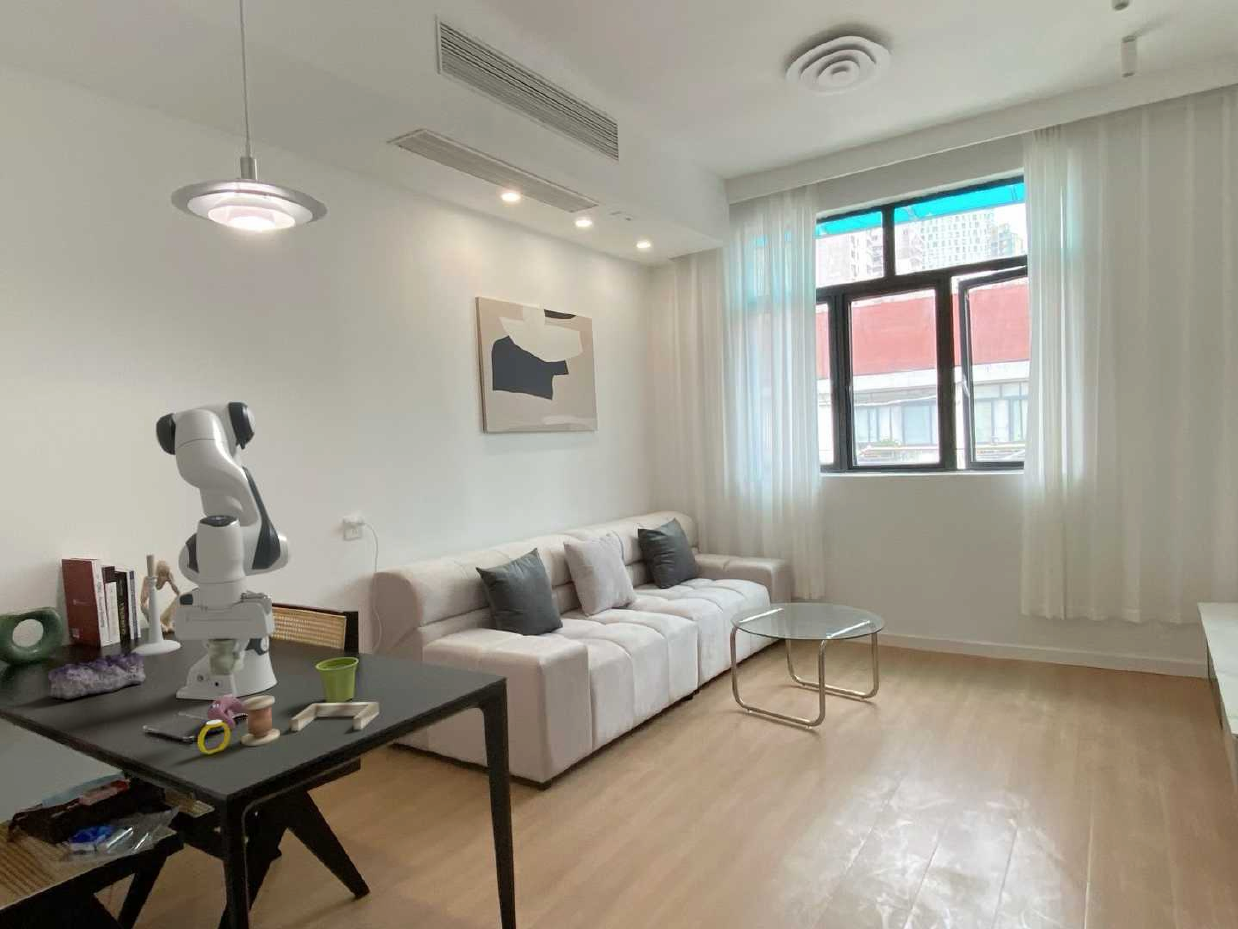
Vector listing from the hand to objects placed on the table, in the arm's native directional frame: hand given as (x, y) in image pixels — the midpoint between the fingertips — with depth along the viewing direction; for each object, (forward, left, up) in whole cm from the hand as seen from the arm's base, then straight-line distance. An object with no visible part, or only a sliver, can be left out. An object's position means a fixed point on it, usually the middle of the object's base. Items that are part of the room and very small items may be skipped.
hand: (227, 659), depth 156 cm
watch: (+2, -9, -16) cm, 19 cm away
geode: (-54, +31, -16) cm, 65 cm away
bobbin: (+8, -3, -16) cm, 18 cm away
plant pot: (+14, +20, -16) cm, 29 cm away
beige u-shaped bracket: (+20, +5, -16) cm, 26 cm away
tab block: (0, 0, -3) cm, 3 cm away
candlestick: (-67, +69, -16) cm, 97 cm away
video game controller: (-4, +6, -16) cm, 18 cm away
